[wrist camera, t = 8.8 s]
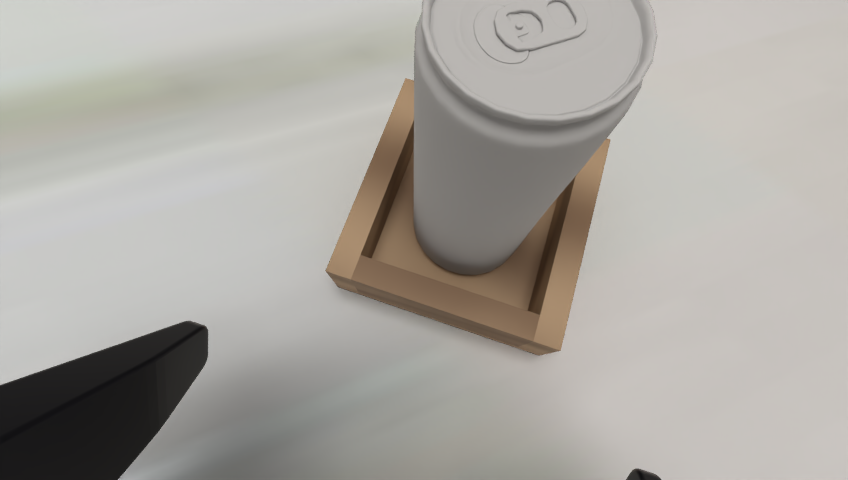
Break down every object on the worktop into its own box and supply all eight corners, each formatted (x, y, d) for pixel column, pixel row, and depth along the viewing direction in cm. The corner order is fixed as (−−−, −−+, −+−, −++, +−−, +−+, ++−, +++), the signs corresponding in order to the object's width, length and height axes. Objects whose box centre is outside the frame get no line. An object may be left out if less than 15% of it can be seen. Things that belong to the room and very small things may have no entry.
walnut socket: (538, 355, 19) (560, 350, 16) (338, 286, 20) (325, 270, 17) (585, 170, 21) (610, 139, 19) (406, 116, 22) (405, 78, 19)
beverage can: (398, 195, 20) (379, -43, 9) (495, 163, 21) (594, -99, 10) (436, 294, 19) (470, 161, 8) (538, 256, 20) (713, 82, 8)
